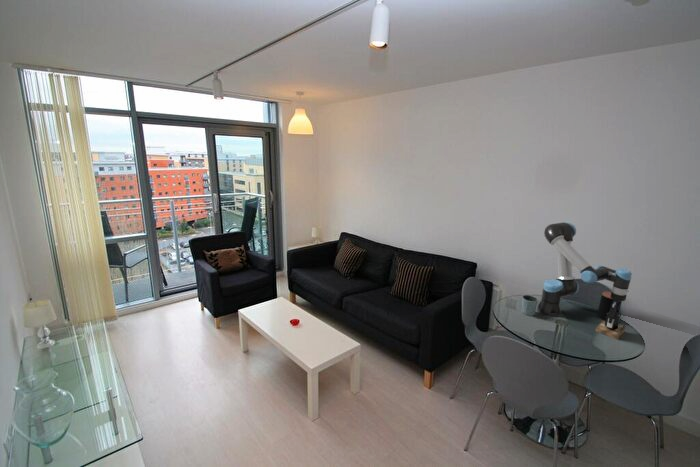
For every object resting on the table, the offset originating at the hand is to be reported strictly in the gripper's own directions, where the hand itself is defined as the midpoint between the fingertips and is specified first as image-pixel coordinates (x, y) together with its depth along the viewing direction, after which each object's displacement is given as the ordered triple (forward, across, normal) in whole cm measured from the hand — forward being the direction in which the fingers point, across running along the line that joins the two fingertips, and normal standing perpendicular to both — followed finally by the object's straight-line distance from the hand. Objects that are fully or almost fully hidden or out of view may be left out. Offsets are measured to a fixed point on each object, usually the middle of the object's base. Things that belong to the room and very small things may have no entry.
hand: (611, 324), depth 209 cm
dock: (+5, 0, 0) cm, 5 cm away
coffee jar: (+5, +19, +7) cm, 21 cm away
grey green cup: (+5, -17, +44) cm, 48 cm away
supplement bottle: (+2, 0, 0) cm, 2 cm away
